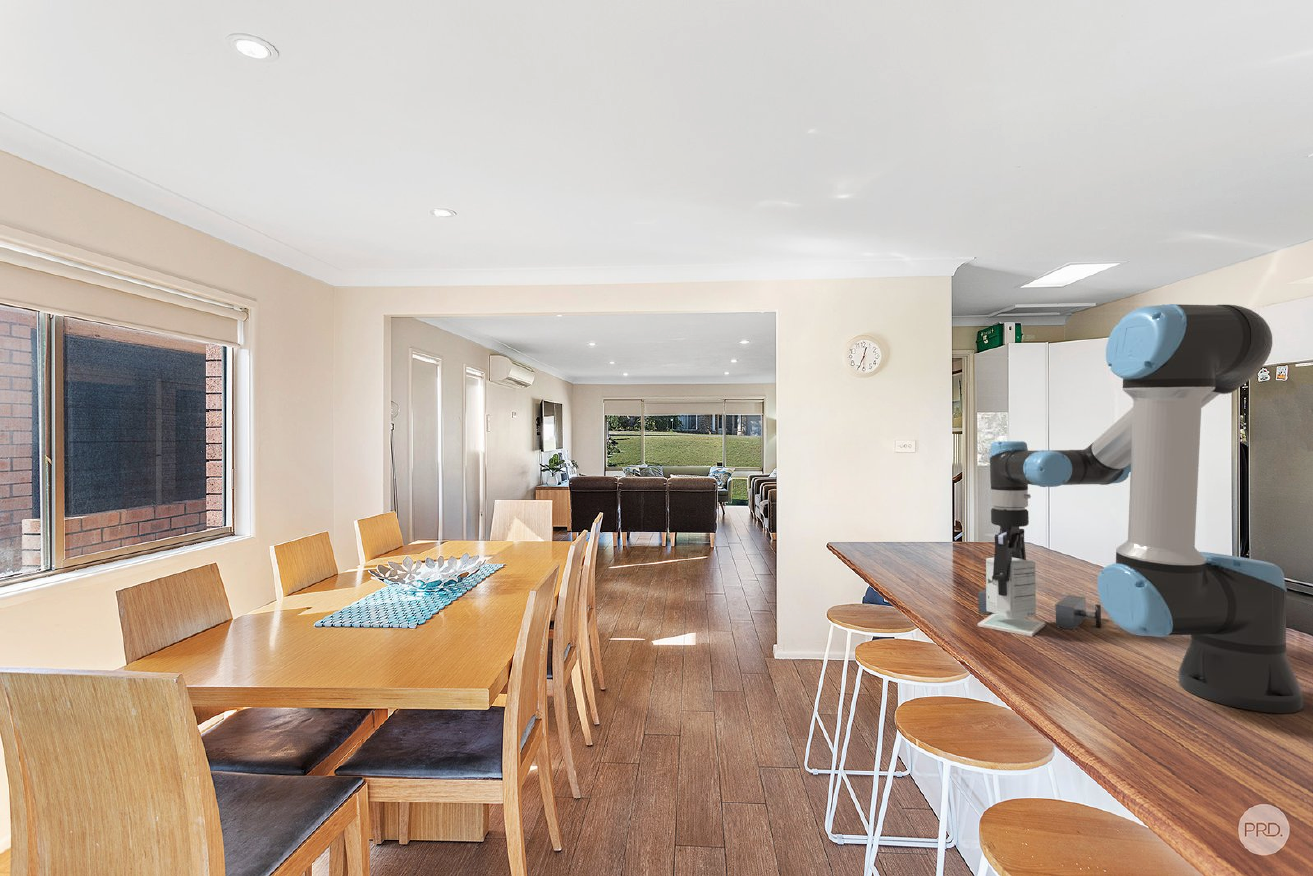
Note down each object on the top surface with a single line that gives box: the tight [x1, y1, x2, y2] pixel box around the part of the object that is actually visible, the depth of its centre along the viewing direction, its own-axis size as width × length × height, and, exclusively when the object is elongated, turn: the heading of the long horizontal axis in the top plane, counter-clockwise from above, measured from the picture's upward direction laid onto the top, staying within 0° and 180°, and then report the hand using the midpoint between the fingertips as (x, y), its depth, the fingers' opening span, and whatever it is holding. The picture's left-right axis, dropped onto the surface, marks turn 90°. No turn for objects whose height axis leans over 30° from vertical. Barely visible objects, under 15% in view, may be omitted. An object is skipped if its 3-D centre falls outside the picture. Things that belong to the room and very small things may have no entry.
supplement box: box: [985, 557, 1037, 619], centre depth 142 cm, size 7×7×13 cm
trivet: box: [977, 613, 1046, 637], centre depth 142 cm, size 11×11×1 cm
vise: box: [977, 588, 1102, 631], centre depth 148 cm, size 12×24×5 cm, turn 45°
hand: (1011, 604), depth 142 cm, fingers closed on supplement box, 9 cm apart
